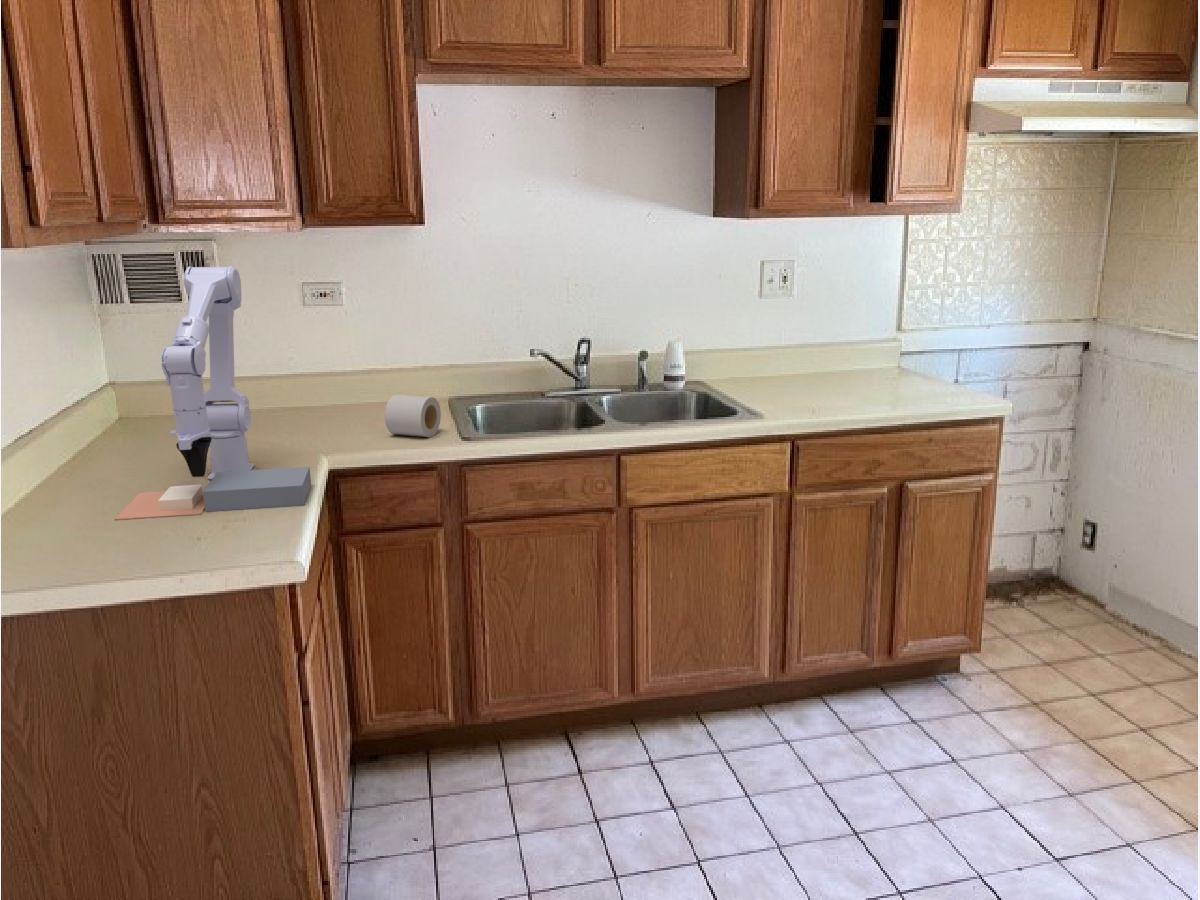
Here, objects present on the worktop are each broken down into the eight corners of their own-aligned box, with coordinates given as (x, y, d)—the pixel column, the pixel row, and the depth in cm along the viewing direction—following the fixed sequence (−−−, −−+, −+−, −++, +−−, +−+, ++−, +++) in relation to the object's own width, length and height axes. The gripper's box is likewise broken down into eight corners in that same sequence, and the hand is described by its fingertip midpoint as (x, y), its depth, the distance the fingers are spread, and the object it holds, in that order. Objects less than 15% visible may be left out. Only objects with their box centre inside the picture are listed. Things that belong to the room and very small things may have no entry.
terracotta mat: (140, 493, 181) (139, 492, 181) (218, 488, 184) (218, 487, 184) (115, 520, 166) (114, 519, 166) (201, 514, 169) (200, 513, 169)
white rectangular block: (202, 484, 180) (203, 494, 180) (170, 486, 179) (171, 496, 179) (191, 498, 171) (193, 508, 172) (157, 500, 170) (159, 510, 171)
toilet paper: (386, 438, 223) (383, 399, 220) (407, 428, 232) (404, 391, 230) (422, 441, 220) (419, 401, 217) (441, 431, 229) (439, 393, 226)
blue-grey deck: (219, 490, 183) (217, 472, 182) (311, 485, 186) (309, 466, 185) (205, 511, 171) (202, 491, 169) (304, 505, 174) (302, 485, 173)
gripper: (176, 400, 177) (185, 466, 181) (157, 417, 164) (167, 488, 167) (214, 399, 179) (222, 464, 182) (198, 415, 165) (207, 486, 169)
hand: (198, 475), depth 175 cm, fingers closed
